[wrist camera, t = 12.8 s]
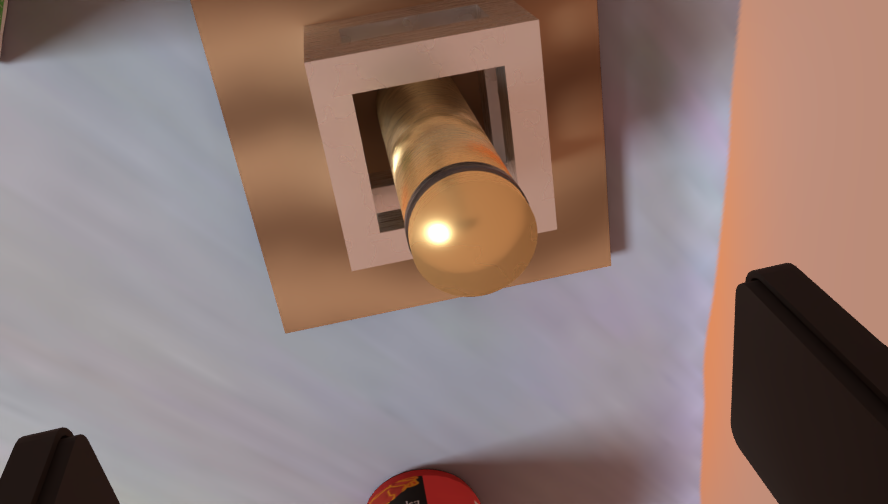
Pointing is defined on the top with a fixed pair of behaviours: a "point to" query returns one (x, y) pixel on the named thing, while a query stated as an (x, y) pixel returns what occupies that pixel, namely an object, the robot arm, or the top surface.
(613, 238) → the top surface
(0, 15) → the skincare box
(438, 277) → the brass tube
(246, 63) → the stand board
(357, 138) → the collar cage
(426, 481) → the canned food
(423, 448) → the top surface
